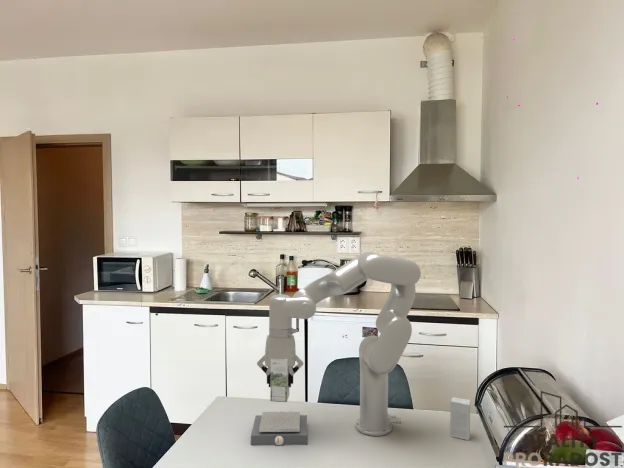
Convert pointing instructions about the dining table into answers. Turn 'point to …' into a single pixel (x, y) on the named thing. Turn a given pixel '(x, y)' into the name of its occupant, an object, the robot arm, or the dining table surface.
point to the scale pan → (280, 422)
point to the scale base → (279, 434)
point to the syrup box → (279, 380)
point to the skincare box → (460, 418)
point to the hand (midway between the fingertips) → (280, 385)
